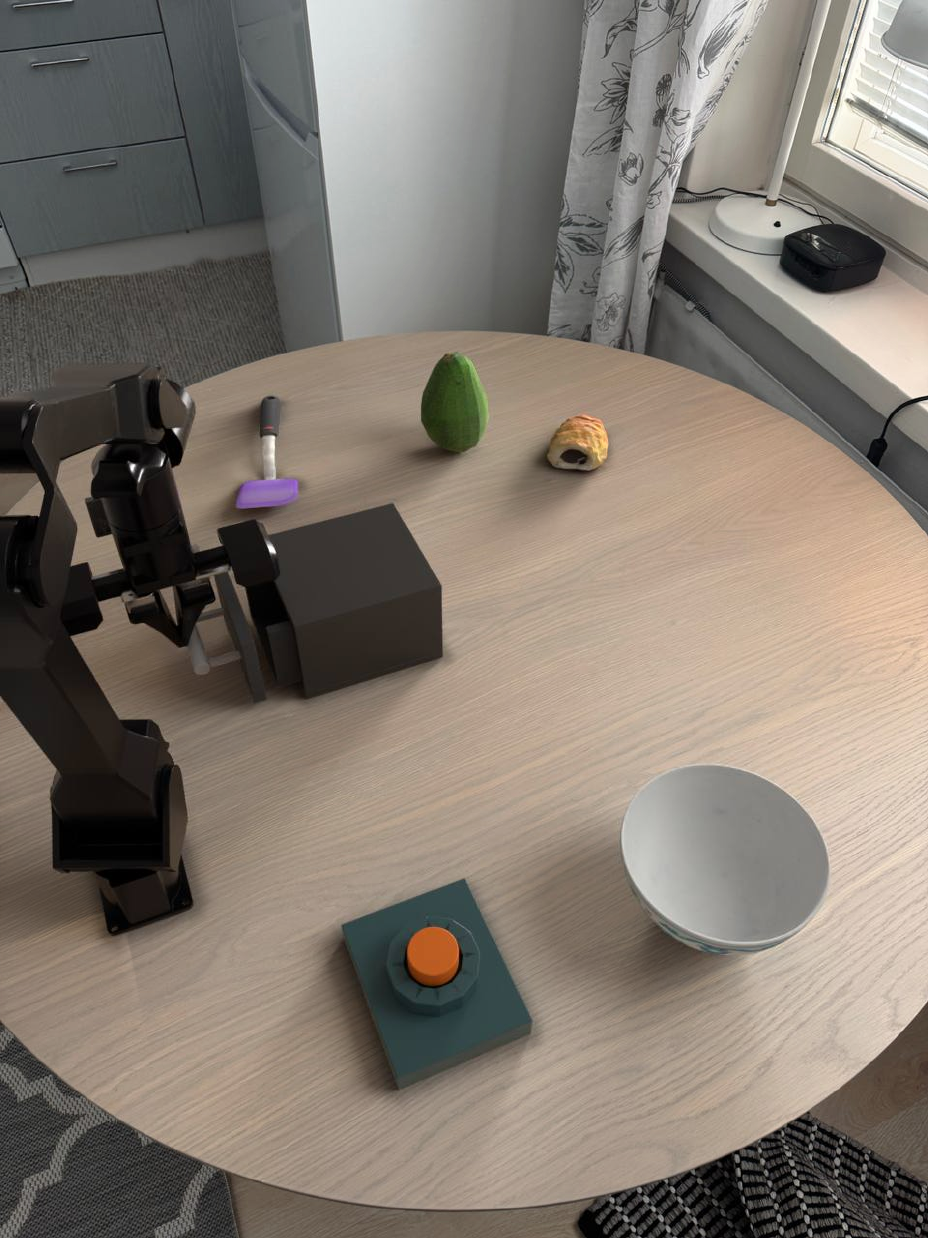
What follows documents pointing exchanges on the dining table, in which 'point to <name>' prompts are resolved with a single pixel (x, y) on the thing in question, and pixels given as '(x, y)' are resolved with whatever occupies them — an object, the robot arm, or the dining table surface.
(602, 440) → the pastry
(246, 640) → the drawer
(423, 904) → the block
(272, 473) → the spatula
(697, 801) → the chinaware
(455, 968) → the button
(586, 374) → the dining table surface
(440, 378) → the avocado
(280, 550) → the box
